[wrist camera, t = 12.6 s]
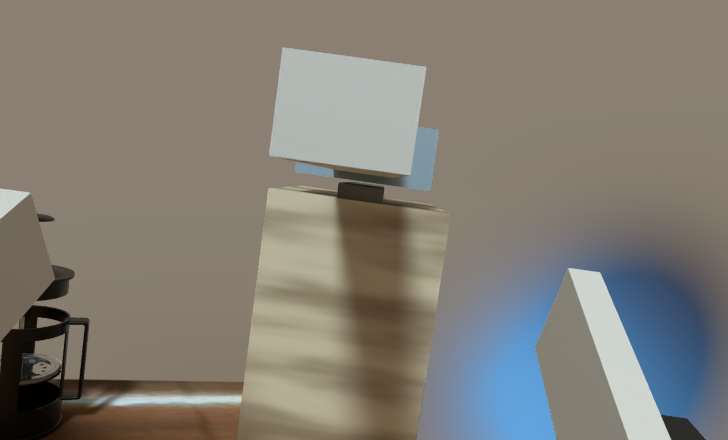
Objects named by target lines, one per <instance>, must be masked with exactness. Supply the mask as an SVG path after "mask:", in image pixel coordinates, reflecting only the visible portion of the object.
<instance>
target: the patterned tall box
mask: <svg viewBox="0 0 728 440" xmlns="http://www.w3.org/2000/svg"><path fill="white" fill-rule="evenodd" d="M383 195H384V187H383V186H378V185H372V184H365V183H358V182H343V183H339V184H338V190H335V189H328V188H321V187H313V186H295V187H294V186H293V187H280V188H269V189H268V197H267V205H266V212H265V220H264V228H263V236H262V244H261V252H260V260H259V268H258V276H257V284H256V291H255V299H254V307H253V316H252V323H251V331H250V339H249V347H248V355H247V363H246V371H245V378H244V386H243V394H242V402H241V410H240V418H239V426H238V433H237V440H416V437H417V431H418V424H419V418H420V411H421V405H422V398H423V392H424V385H425V379H426V372H427V366H428V359H429V353H430V346H431V340H432V333H433V326H434V320H435V314H436V307H437V300H438V294H439V288H440V281H441V275H442V268H443V261H444V255H445V248H446V242H447V236H448V229H449V223H450V216H451V214H449V213H447V212H445V211H443V210H441V209H439V208H437V207H435V206H433V205H431V204H429V203H426V202H419V201H412V200H404V199H397V198H391V197H384V196H383Z"/></svg>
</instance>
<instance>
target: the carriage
mask: <svg viewBox="0 0 728 440" xmlns="http://www.w3.org/2000/svg"><path fill="white" fill-rule="evenodd" d="M425 73H426V67H422V66H415V65H408V64H400V63H392V62H386V61H377V60H371V59H363V58H356V57H349V56H342V55H334V54H327V53H319V52H312V51H304V50H298V49H290V48H283V50H282V57H281V65H280V73H279V82H278V89H277V97H276V105H275V113H274V121H273V129H272V137H271V145H270V152H269V153H270V154H269V156H273V157H278V158H282V159H287V160H292V161H296V168H295V172H300V173H307V174H314V175H321V176H328V177H335V178H343V179H349V180H356V181H364V182H371V183H377V184H386V185H392V186H400V187H406V188H413V189H420V190H427V191H430V188H431V182H432V175H433V169H434V162H435V155H436V149H437V142H438V136H439V130H435V129H428V128H420V127H418V120H419V113H420V106H421V100H422V93H423V86H424V80H425Z"/></svg>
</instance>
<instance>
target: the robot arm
mask: <svg viewBox="0 0 728 440" xmlns="http://www.w3.org/2000/svg"><path fill="white" fill-rule="evenodd" d="M54 280H55V276H54V273H53V269H52V266H51V262H50V259H49V255H48V252H47V248H46V245H45V241H44V238H43V234H42V231H41V227H40V224H39V220H38V217H37V213H36V210H35V206H34V203H33V199H32V196H31V193H28V192H21V191H14V190H7V189H0V342H1V340H2V339H3V338H4V337H5V336H6V335H7V334H8V332H9V331H10V330H11V329H12V328H13V327H14V326H15V324H16V323H17V322H18V321H19V320H20V319H21V318H22V316H23V315H24V314H25V313H26V312H27V311H28V309H29V308H30V307H31V306H32V305H33V304H34V302H35V301H36V300H37V299H38V298H39V297H40V296H41V295H42V293H43V292H44V291H45V290H46V289H47V288H48V287H49V285H50V284H51V283H52V282H53V281H54ZM536 351H537V356H538V360H539V365H540V369H541V373H542V377H543V382H544V387H545V391H546V395H547V400H548V404H549V409H550V413H551V417H552V421H553V425H554V430H555V435H556V439H557V440H705V439H704V437H703V436H702V435H701V434H700V433H699V432H698V431H697V429H696V428H695V427H694V426H693V425H692V424H691V423H690V422H689V420H688V419H685V418H679V417H672V416H665V415H660V413H659V410H658V408H657V405H656V403H655V401H654V398H653V396H652V394H651V391H650V389H649V387H648V384H647V382H646V380H645V377H644V375H643V372H642V370H641V368H640V365H639V363H638V361H637V358H636V356H635V354H634V351H633V349H632V347H631V344H630V342H629V340H628V337H627V335H626V332H625V330H624V328H623V325H622V323H621V321H620V318H619V316H618V314H617V311H616V309H615V307H614V304H613V302H612V300H611V297H610V295H609V292H608V290H607V288H606V285H605V283H604V281H603V278H602V276H601V274H600V273H599V272H593V271H585V270H578V269H571V268H568V270H567V272H566V275H565V277H564V280H563V282H562V285H561V287H560V289H559V291H558V294H557V296H556V299H555V301H554V304H553V306H552V309H551V311H550V313H549V316H548V318H547V321H546V323H545V326H544V328H543V330H542V333H541V335H540V338H539V340H538V342H537V345H536Z"/></svg>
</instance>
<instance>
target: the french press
mask: <svg viewBox="0 0 728 440" xmlns="http://www.w3.org/2000/svg"><path fill="white" fill-rule="evenodd" d="M37 217H38V220H39V222H47V221H54V218H53V217H51V216H48V215H43V214H37ZM51 266H52V269H53V273H54V276H55V280H54V281H53V282H52V283H51V284H50V285H49V287H48V288H47V289H46V290H45V291H44V292H43V293H42V295H41V296H40V297H39V298H38V299H37V300H36V301H42V300H50V299H55V298H59V297H62V296H65V295H66V294H67V293H68V288H69V280H70V279H72V278H73V277H74V275H75V274H74V271H72V270H70V269H68V268H64V267H60V266H55V265H51ZM38 317H41V318H49V319H53V320H57V321H60V322H62V323H59V324H56V325H53V326H48V327H42V328H37V318H38ZM69 325H84V326H85V329H84V339H83V350H82V359H81V369H80V378H79V388H78V391H63V385H64V375H65V365H66V354H67V345H68V335H69ZM88 332H89V319H88V318H71V317H70V314H69V313H67V312H66V311H64V310H61V309H57V308H52V307H47V306H36V305H32V306H31V307H30V308H29V309H28V311H27V312H26V313H25V314H24V315H23V316H22V318H21V319H20V321H19V329H11V330H10V331H9V332H8V334H7V335H6V336H5V337H4V338H3V339H2V340H1V342H3V344H2V355H1V356H0V440H37V439H40V438H43V437H45V436H47V435H49V434H51V433H52V432H54V431H55V430H56V429H57V428H58V427H59V426H60V424H61V422H62V413H61V405H62V400H77V399H80V398H81V395H82V390H83V381H84V370H85V361H86V352H87V342H88ZM64 333H65V341H64V351H63V361H62V363H61V361H59V360H58V359H56V358H54V357H51V356H46V355H41V354H34V349H35V341H40V340H46V339H51V338H54V337H57V336H60V335H63V334H64ZM61 369H62V371H61ZM60 372H61V381H60V386H59V385H57V384H55V383H53V382H50V381H49V380H51V379H53V378H55V377H56V376H58V375H59V374H60ZM17 408H33V410H28V411H22V412H17Z"/></svg>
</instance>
